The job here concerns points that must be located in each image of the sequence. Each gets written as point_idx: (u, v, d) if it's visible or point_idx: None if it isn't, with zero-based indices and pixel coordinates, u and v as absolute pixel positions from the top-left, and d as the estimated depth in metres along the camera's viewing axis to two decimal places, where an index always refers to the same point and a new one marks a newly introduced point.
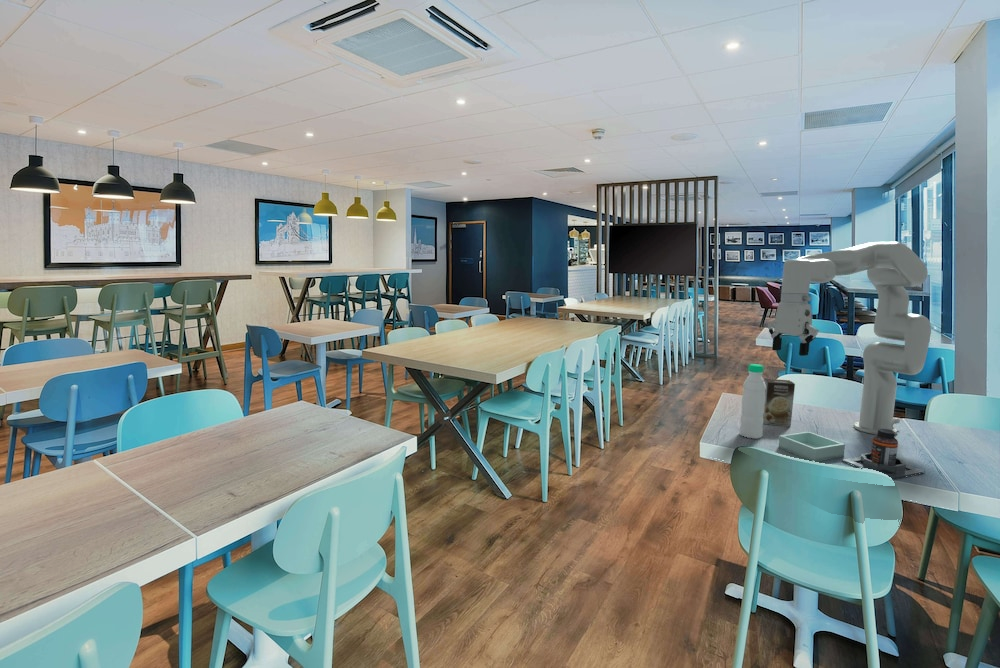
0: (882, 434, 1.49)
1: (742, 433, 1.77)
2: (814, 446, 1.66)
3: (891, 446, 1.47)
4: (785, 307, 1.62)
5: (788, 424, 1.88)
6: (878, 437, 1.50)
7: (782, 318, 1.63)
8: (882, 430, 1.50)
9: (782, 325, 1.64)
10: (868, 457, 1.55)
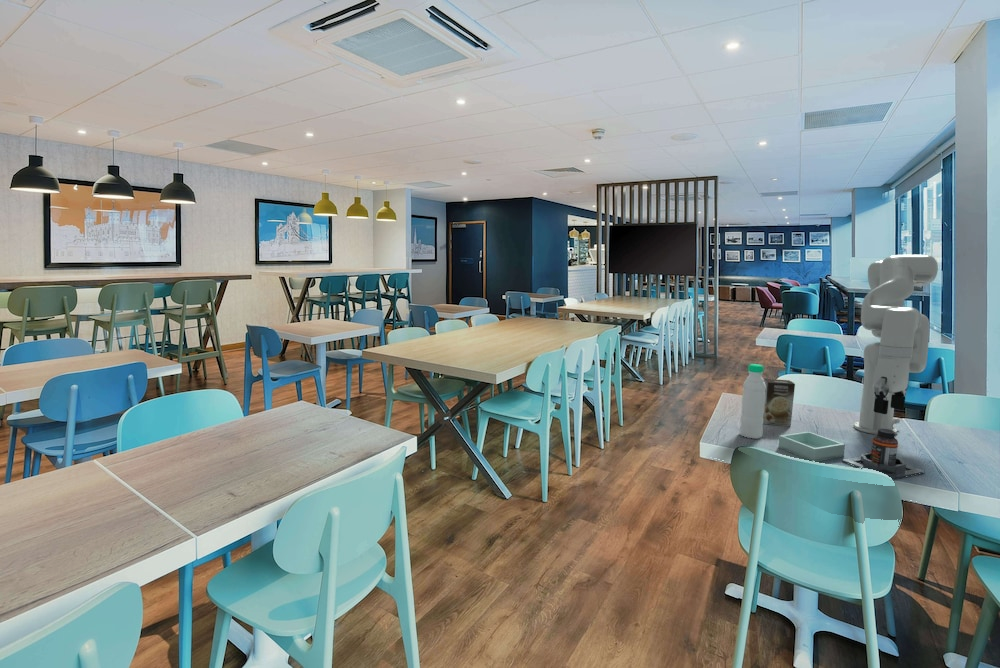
0: (882, 434, 1.49)
1: (742, 433, 1.77)
2: (814, 446, 1.66)
3: (891, 446, 1.47)
4: (903, 362, 1.44)
5: (788, 424, 1.88)
6: (878, 437, 1.50)
7: (900, 375, 1.44)
8: (882, 430, 1.50)
9: (899, 383, 1.45)
10: (868, 457, 1.55)
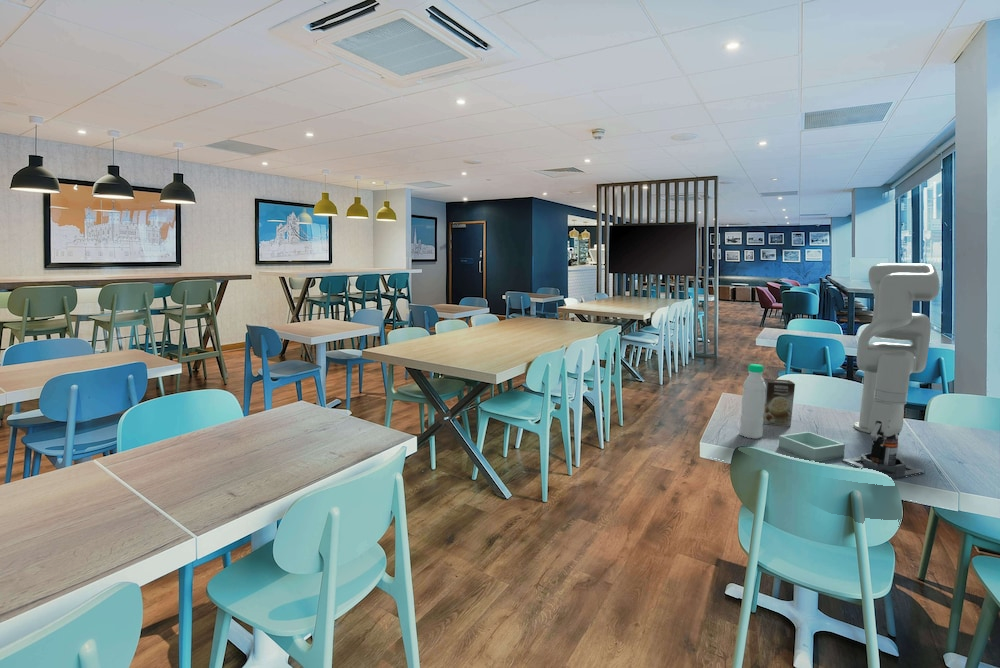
0: (882, 434, 1.49)
1: (742, 433, 1.77)
2: (814, 446, 1.66)
3: (891, 446, 1.47)
4: (898, 407, 1.46)
5: (788, 424, 1.88)
6: (878, 437, 1.50)
7: (894, 420, 1.46)
8: None
9: (893, 427, 1.47)
10: (868, 457, 1.55)
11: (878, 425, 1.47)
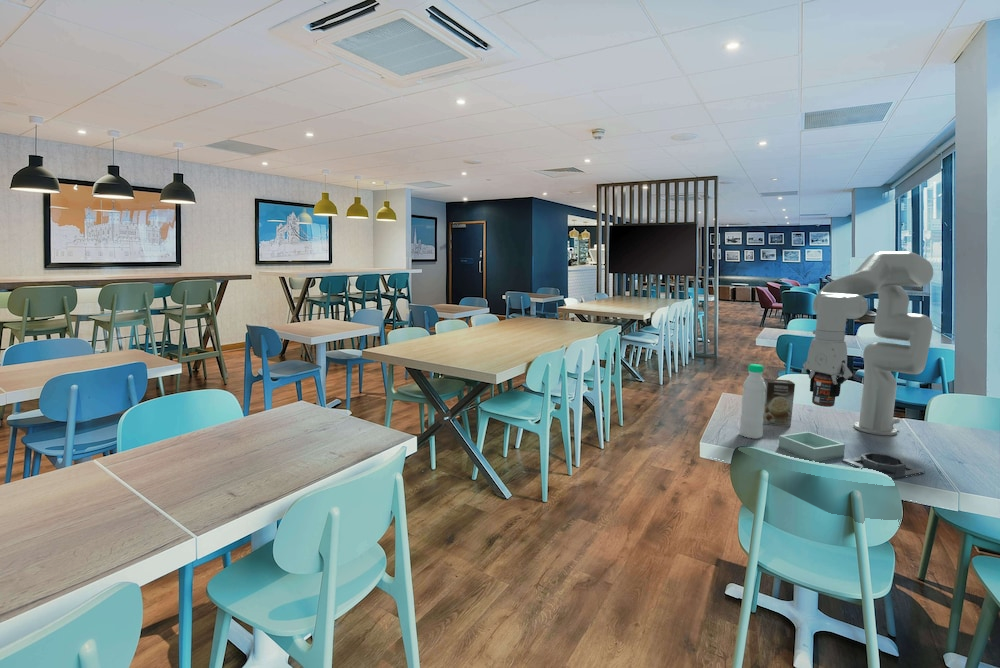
0: None
1: (742, 433, 1.77)
2: (814, 446, 1.66)
3: None
4: None
5: (788, 424, 1.88)
6: (830, 377, 1.56)
7: None
8: None
9: None
10: (868, 457, 1.55)
11: (844, 364, 1.53)
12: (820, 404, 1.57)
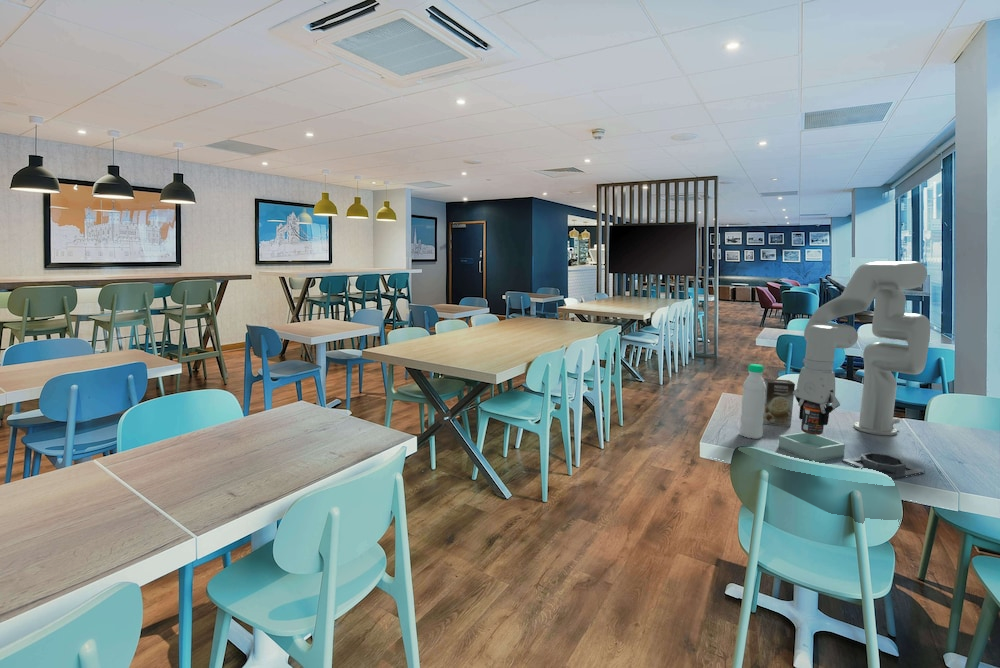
0: None
1: (742, 433, 1.77)
2: (814, 446, 1.66)
3: None
4: None
5: (788, 424, 1.88)
6: (818, 405, 1.59)
7: None
8: None
9: None
10: (868, 457, 1.55)
11: (832, 394, 1.55)
12: (809, 432, 1.60)
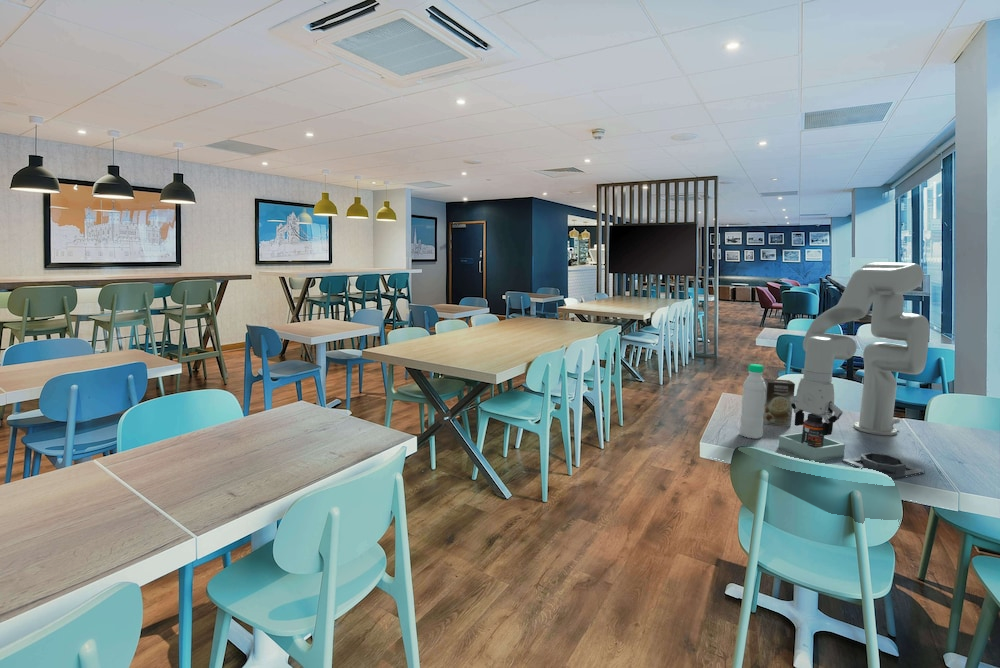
0: (820, 419, 1.59)
1: (742, 433, 1.77)
2: None
3: None
4: None
5: (788, 424, 1.88)
6: (818, 423, 1.59)
7: None
8: (815, 416, 1.60)
9: None
10: (868, 457, 1.55)
11: None
12: None
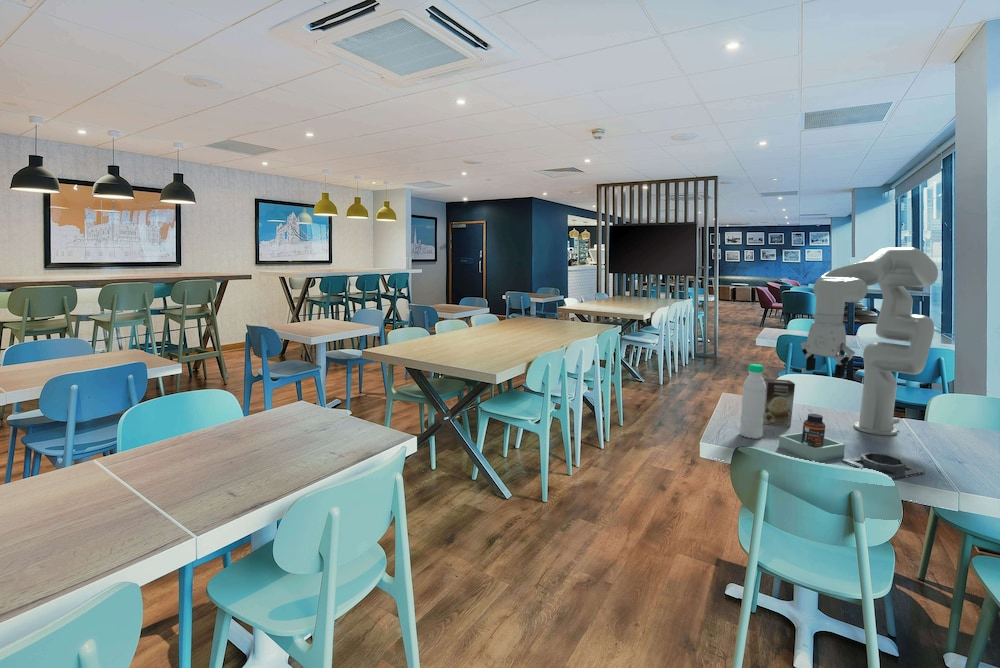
0: (820, 419, 1.59)
1: (742, 433, 1.77)
2: None
3: None
4: None
5: (788, 424, 1.88)
6: (818, 423, 1.59)
7: None
8: (815, 416, 1.60)
9: None
10: (868, 457, 1.55)
11: None
12: None
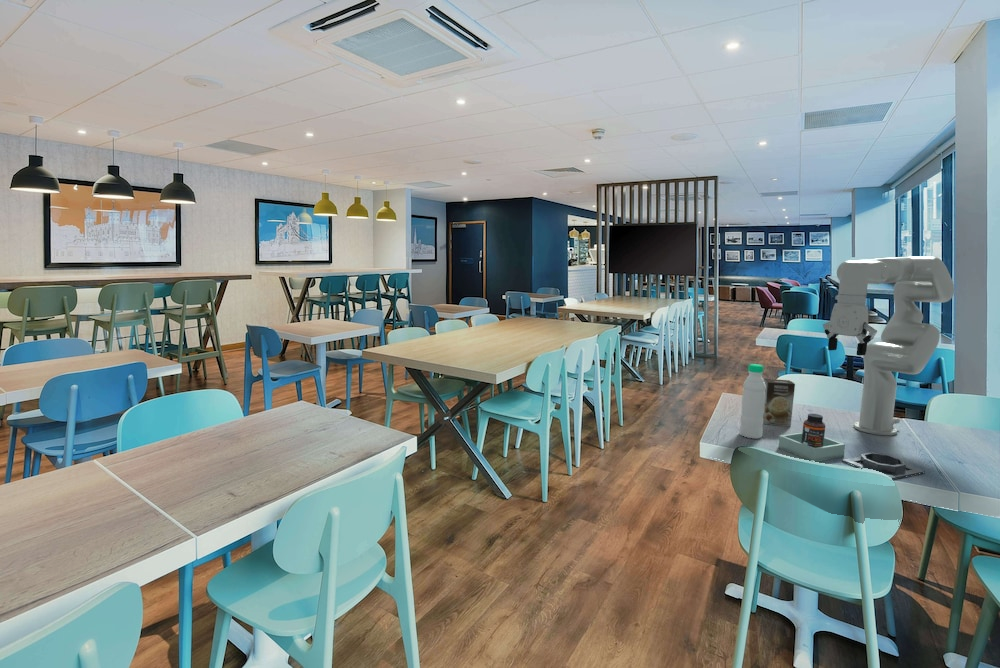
0: (820, 419, 1.59)
1: (742, 433, 1.77)
2: None
3: None
4: None
5: (788, 424, 1.88)
6: (818, 423, 1.59)
7: None
8: (815, 416, 1.60)
9: None
10: (868, 457, 1.55)
11: None
12: None
